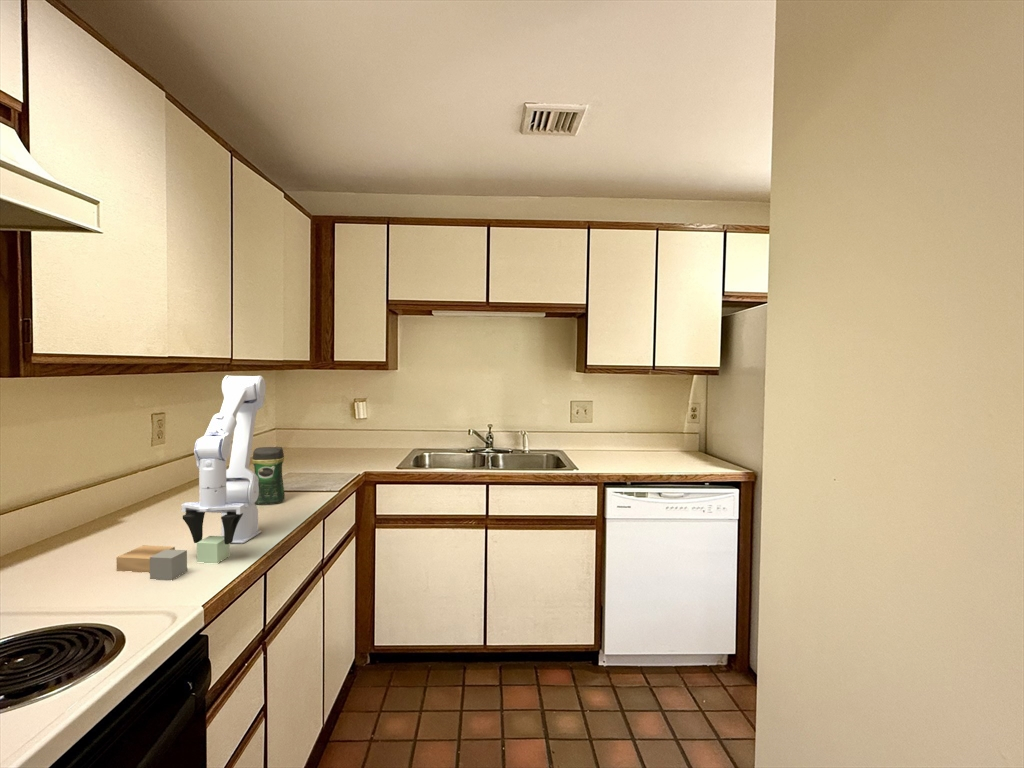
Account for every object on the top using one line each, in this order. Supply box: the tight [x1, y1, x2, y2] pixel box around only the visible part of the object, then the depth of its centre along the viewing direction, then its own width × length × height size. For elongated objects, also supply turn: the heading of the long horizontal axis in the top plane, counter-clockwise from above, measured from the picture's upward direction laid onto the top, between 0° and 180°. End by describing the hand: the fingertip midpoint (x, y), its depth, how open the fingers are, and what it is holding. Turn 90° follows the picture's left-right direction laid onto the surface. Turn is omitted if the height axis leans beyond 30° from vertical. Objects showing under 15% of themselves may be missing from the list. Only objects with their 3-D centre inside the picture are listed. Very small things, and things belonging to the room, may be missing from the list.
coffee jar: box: [251, 446, 286, 505], centre depth 183 cm, size 10×8×19 cm
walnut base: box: [116, 545, 176, 574], centre depth 127 cm, size 8×8×4 cm
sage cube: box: [196, 535, 231, 564], centre depth 131 cm, size 5×5×5 cm
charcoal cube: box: [149, 549, 188, 581], centre depth 121 cm, size 5×5×5 cm
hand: (213, 542), depth 131 cm, fingers open, 7 cm apart
